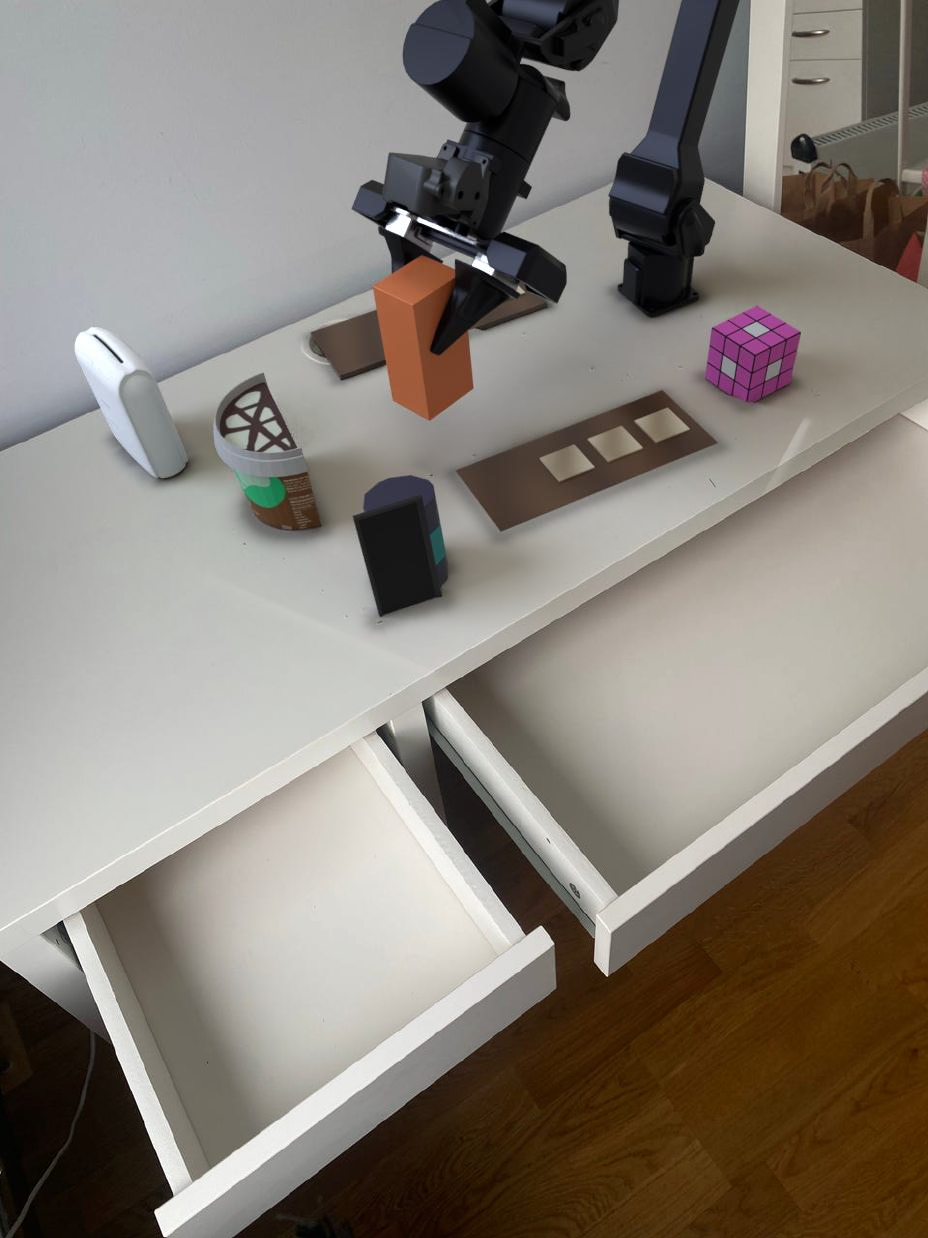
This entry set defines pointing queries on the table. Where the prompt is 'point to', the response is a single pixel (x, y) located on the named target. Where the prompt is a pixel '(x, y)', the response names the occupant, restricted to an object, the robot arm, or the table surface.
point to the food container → (265, 457)
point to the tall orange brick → (421, 338)
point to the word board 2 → (583, 459)
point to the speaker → (402, 542)
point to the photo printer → (131, 401)
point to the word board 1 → (361, 342)
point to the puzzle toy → (752, 354)
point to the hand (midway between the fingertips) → (412, 342)
